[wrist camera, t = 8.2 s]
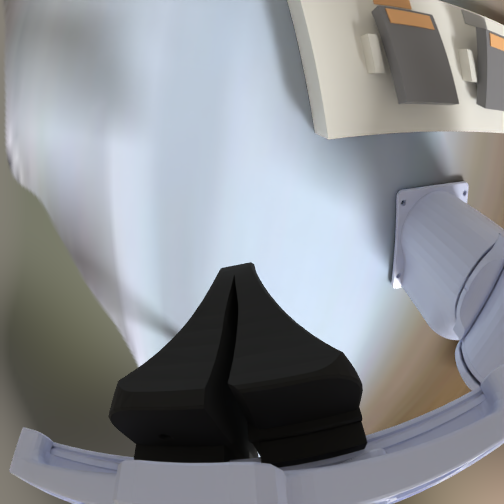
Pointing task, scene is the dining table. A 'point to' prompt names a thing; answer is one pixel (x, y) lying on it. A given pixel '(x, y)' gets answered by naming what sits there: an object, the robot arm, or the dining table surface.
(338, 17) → the switch panel
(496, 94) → the rocker
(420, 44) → the rocker
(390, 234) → the dining table surface
